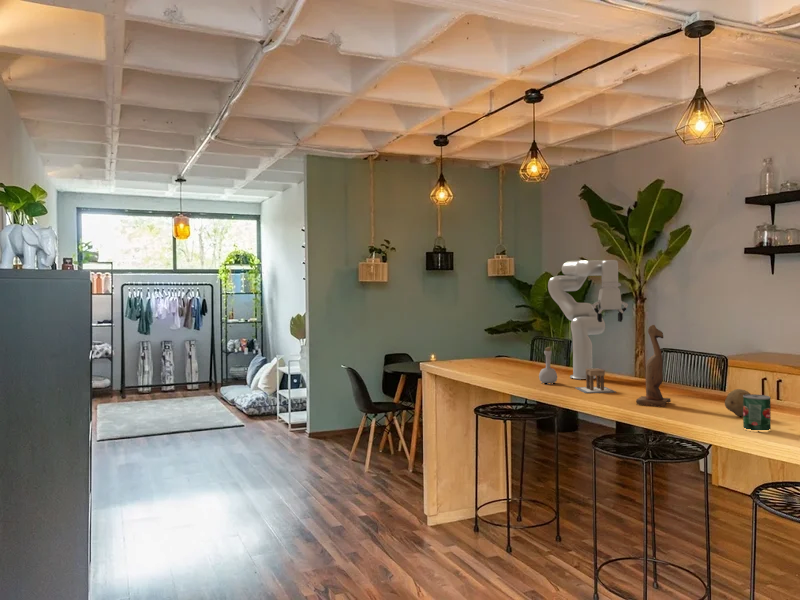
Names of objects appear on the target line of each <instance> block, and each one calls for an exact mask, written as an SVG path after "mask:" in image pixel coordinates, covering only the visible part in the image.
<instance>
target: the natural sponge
mask: <svg viewBox="0 0 800 600" xmlns="http://www.w3.org/2000/svg"><path fill="white" fill-rule="evenodd" d="M747 394H751V393H750V392H749V391H748V390H745V389H741V388H737V389H734V390H732V391H730V392H729V393H728V394H727V396H726V397H725V401H724V406H725V408H726V409H727V410H728V411H729V412H732V413H733V414H734V415H736V416H737V417H739V416H743V395H747Z"/></svg>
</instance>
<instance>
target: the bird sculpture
mask: <svg viewBox="0 0 800 600" xmlns="http://www.w3.org/2000/svg"><path fill="white" fill-rule="evenodd" d="M647 332H648V334H649V338H650V341H651V345H652V348H653V355H651V356H650V357H649V358H648V359H647V361H646V364H645V395H644V396H642V395H641V396H640V397H638V398H636V401H635V403H636V405H639V406H643V405H644V406H646V407H654V406H657V407H658V406H660V407H659V408H665V407H666V402H667V403H669V402H671V401H672V399H671V397H663V394H662V392H661V389H660V385H662V383H663V380H664V374H663V373H664V371H663V370H664V369H663V367H664V366H663V365H664V364H663V363H664V362H663V353H662V350H661V347H660V344H659V341H658V338H660V339H664V332H663V331H661V330H659V329H658V328H657V327H656V325H655V324H651V325H649V327H648V330H647Z"/></svg>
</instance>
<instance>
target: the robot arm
mask: <svg viewBox="0 0 800 600" xmlns="http://www.w3.org/2000/svg"><path fill="white" fill-rule="evenodd" d="M561 272H562V274H563V275H555V276H553V277H550V278H549V280H548V284H547V288H548V293H549V295H550V297H551V298H552V300H553V301H554V302H555V303H556V304H557V306H559V308H560V310H561V311H562V313H563V314H564V315H565V317H566V319H568V321H571V322H570V330H571V335H572V370H573V371H572V373H573V374H571V375H569V378H570V379H572V378H573V380H581V379H586V369H593V343H592V340H591V338H590V337H589V336H593V335H594V336H595V335H601V334H603V333H605V330H606V323H605V320H604V319H603V315H602V312H603V311H605V310H608V311H609V310H617V312H618V313H617V322H620V323H622V322H623V316H624V312H626V311H627V308H628V306H629V304H628V303H627V302H625V301H622V294H621V290H620V288H619V287H622V284H621V282H620V281H619V261H618V260H616V259H608V260H607V259H602V260H601V259H599V260H597V259H595V260H594V259H589V260H588V259H587V260H585V259H579V260H568V261H566V262H564V263H563V264H562V266H561ZM589 276H590V277H591V276H593V277H594V276H595V277H597V276H598V277H599V276H601V288H600V289H599V292H598V298H597V299H598V301H595V302H593V303H590V302H577V301H576V300H575V299H574V297H573V296H572V295H571V294H569V293H568V292H576V291H578V290H580V289H581V288H582V287H583V285H584V283H585V282H586V280H587V278H588V277H589ZM622 306H623V307H622ZM595 379H597V376H594V380H595Z"/></svg>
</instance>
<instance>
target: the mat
mask: <svg viewBox="0 0 800 600" xmlns="http://www.w3.org/2000/svg"><path fill="white" fill-rule="evenodd" d="M574 388H575V390H578V391H580V392H582V393H584V394H609V393H614V392H615V393H617V391H615V390H613V389H612V388H608V387H606V386H604V390H601V386H600V388H599V389H598V388H597V386H594V390H590V389H587V388H586V386H575V387H574ZM615 393H614V394H615Z"/></svg>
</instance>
